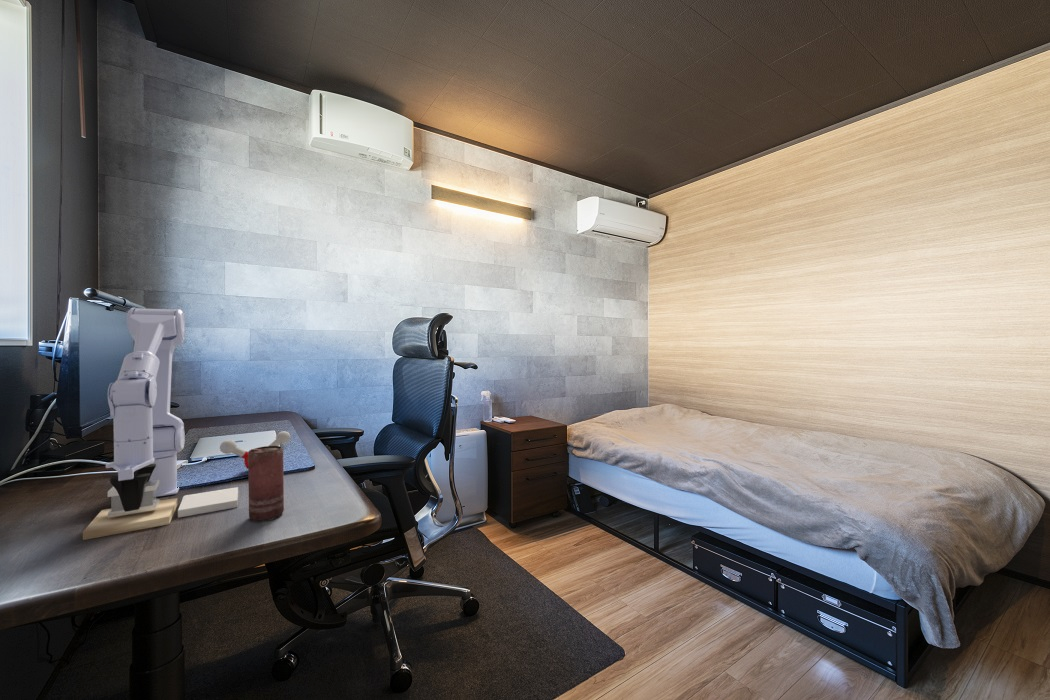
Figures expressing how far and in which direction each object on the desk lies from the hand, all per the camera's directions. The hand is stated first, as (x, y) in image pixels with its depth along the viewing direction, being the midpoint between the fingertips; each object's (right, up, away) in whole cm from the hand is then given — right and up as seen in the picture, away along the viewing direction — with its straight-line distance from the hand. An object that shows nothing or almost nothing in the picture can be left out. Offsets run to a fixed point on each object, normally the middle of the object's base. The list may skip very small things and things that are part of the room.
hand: (134, 506), depth 84 cm
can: (+25, -3, +2) cm, 25 cm away
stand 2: (+9, -3, +8) cm, 13 cm away
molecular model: (+3, -3, +33) cm, 34 cm away
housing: (0, -1, 0) cm, 1 cm away
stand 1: (0, -3, 0) cm, 3 cm away
